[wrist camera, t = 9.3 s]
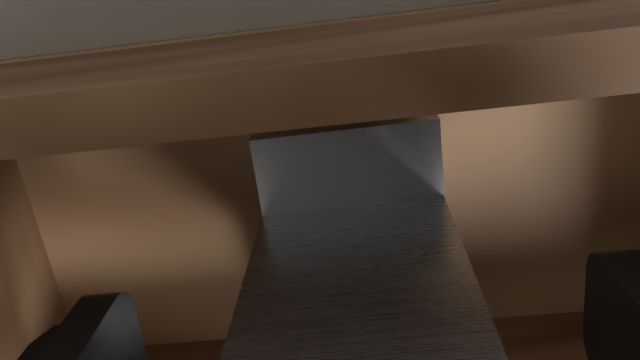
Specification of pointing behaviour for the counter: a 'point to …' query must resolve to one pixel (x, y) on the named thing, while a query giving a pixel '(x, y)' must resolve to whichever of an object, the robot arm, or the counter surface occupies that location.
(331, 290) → the bracket
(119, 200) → the open wooden box
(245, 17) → the counter surface
